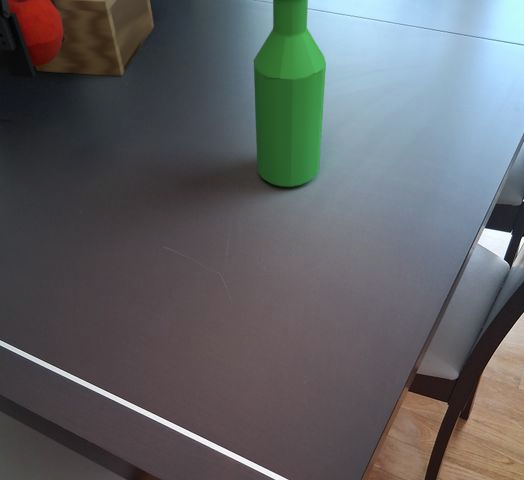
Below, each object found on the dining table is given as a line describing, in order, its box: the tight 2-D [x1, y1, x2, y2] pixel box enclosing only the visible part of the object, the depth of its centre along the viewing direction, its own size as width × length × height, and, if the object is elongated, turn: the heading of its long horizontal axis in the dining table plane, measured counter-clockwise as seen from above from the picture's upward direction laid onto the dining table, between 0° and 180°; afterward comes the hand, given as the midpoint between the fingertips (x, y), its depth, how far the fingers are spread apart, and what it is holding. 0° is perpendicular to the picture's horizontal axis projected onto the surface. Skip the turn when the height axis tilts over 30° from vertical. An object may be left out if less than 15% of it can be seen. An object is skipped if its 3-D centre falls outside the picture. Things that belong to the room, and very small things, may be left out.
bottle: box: [253, 0, 327, 188], centre depth 71 cm, size 9×9×25 cm
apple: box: [8, 0, 63, 68], centre depth 65 cm, size 8×8×7 cm
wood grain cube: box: [35, 0, 155, 77], centre depth 102 cm, size 16×20×12 cm
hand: (39, 57), depth 67 cm, fingers closed on apple, 8 cm apart
